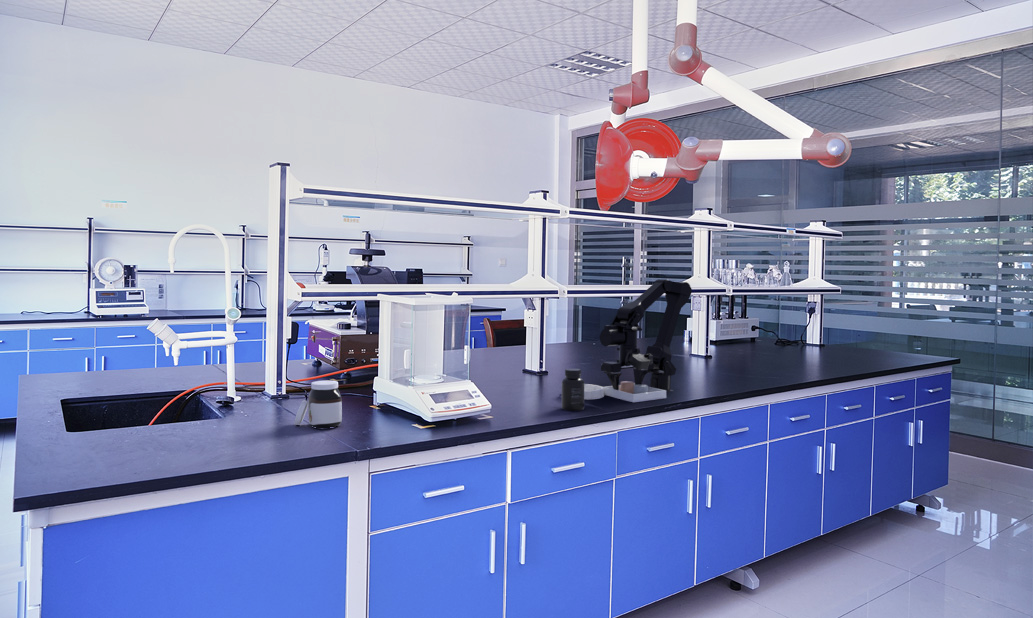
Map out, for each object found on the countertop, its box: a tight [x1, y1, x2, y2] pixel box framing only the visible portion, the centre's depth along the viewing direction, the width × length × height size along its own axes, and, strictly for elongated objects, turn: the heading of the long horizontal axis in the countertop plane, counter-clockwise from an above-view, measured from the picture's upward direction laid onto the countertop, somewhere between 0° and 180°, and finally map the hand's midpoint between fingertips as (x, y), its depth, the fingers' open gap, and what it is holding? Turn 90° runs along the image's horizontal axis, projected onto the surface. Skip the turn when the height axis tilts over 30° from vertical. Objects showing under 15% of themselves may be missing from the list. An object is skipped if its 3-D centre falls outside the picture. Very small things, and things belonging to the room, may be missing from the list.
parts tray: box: [602, 382, 667, 403], centre depth 218 cm, size 14×15×3 cm
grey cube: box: [634, 383, 649, 394], centre depth 215 cm, size 4×4×4 cm
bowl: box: [584, 383, 605, 400], centre depth 218 cm, size 13×13×3 cm
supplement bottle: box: [561, 368, 585, 412], centre depth 199 cm, size 7×7×12 cm
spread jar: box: [293, 379, 343, 428], centre depth 174 cm, size 12×11×12 cm
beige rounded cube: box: [620, 380, 635, 394], centre depth 220 cm, size 4×4×4 cm
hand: (627, 391), depth 220 cm, fingers open, 9 cm apart
